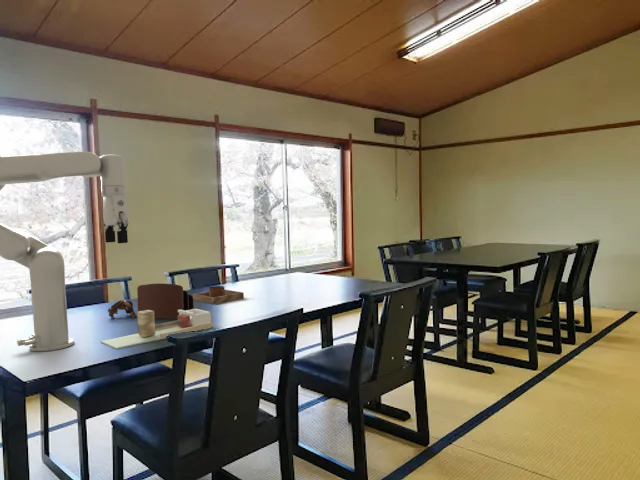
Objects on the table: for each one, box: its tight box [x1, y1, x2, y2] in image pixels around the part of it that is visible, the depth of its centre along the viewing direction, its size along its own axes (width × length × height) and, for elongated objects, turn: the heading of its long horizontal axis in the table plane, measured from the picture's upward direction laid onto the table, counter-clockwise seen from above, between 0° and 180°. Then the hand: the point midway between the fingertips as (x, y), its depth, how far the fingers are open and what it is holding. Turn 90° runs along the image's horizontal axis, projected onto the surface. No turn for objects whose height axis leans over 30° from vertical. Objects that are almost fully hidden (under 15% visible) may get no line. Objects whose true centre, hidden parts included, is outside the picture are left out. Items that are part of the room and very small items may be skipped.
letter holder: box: [136, 283, 195, 320], centre depth 197 cm, size 10×20×14 cm, turn 80°
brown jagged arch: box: [107, 299, 136, 319], centre depth 198 cm, size 12×10×8 cm
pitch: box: [100, 308, 214, 350], centre depth 167 cm, size 35×12×6 cm, turn 136°
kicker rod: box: [137, 310, 190, 337], centre depth 168 cm, size 17×5×8 cm, turn 136°
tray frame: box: [192, 288, 245, 305], centre depth 230 cm, size 17×17×3 cm
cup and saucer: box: [207, 285, 228, 297], centre depth 230 cm, size 12×12×6 cm
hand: (116, 242), depth 164 cm, fingers open, 9 cm apart
